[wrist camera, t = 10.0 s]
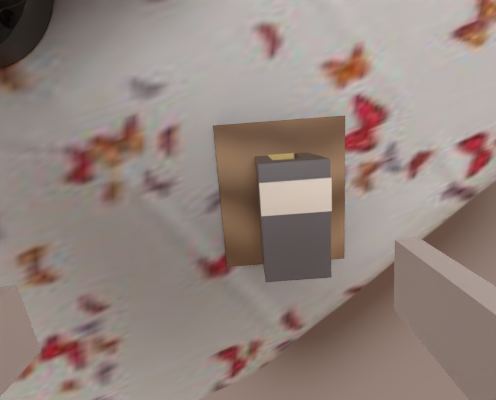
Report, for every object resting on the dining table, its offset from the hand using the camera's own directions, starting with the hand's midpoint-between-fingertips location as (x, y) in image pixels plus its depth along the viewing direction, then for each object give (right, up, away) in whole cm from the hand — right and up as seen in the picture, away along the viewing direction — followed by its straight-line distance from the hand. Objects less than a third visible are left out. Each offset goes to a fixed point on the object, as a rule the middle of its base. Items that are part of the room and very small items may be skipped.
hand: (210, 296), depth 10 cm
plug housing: (+5, +3, +17) cm, 18 cm away
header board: (+5, +4, +19) cm, 20 cm away
